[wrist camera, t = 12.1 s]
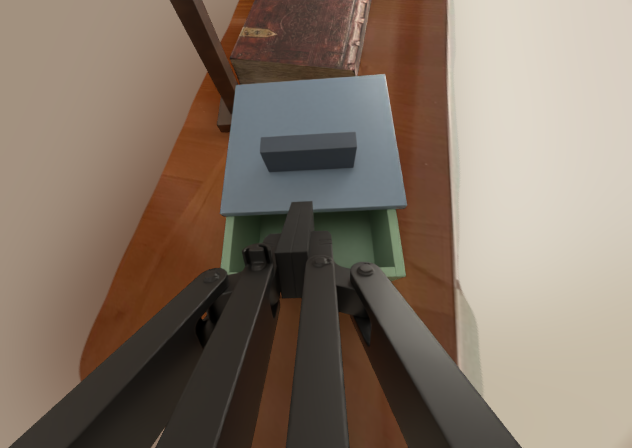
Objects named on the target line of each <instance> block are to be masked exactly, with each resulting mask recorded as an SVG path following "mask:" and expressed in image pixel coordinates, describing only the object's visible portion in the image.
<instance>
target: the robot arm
mask: <svg viewBox="0 0 632 448" xmlns="http://www.w3.org/2000/svg"><path fill="white" fill-rule="evenodd" d="M242 255H243V259H244V263H245V267H244V269H243V271H241V272H238V273H234V274H230V275H228V274H227V271H226V270H225V269H222V268H213V269H209V270H207V271H205V272H203V273H202V274H200V275H199V276H198V277H197V278H196V279H194V280H193V281H192V282H191V283H190V284H189V285H188V286H187V287H186V288H184V289H183V290H182V291H181V292H180V293H179V294H178V295H177V296H176V297H175V298H173V299H172V300H171V301H170V302H169V303H168V304H167V305H166V306H165V307H163V308H162V309H161V310H160V311H159V312H158V313H157V314H156V315H155V316H154V317H152V318H151V319H150V320H149V321H148V322H147V323H146V324H145V325H144V326H142V327H141V328H140V329H139V330H138V331H137V332H136V333H135V334H134V335H132V336H131V337H130V338H129V339H128V340H127V341H126V342H125V343H124V344H123V345H121V346H120V347H119V348H118V349H117V350H116V351H115V352H114V353H113V354H111V355H110V356H109V357H108V358H107V359H106V360H105V361H104V362H103V363H102V364H100V365H99V366H98V367H97V368H96V369H95V370H94V371H93V372H92V373H90V374H89V375H88V376H87V377H86V378H85V379H84V380H83V381H82V382H81V383H80V384H78V385H77V386H76V387H75V388H74V389H73V390H72V391H71V392H69V393H68V394H67V395H66V396H65V397H64V398H63V399H62V400H61V401H60V402H58V403H57V404H56V405H55V406H54V407H53V408H52V409H51V410H50V411H48V412H47V413H46V414H45V415H44V416H43V417H42V418H41V419H40V420H39V421H37V422H36V423H35V424H34V425H33V426H32V427H31V428H30V429H29V430H27V431H26V432H25V433H24V434H23V435H22V436H21V437H20V438H19V439H18V440H16V441H15V442H14V443H13V444H12V445H11V446H10V447H9V448H151V446H152V445H153V444H154V442H155V441H156V439H157V438H158V436H159V435H160V433H161V432H162V431H163V429H164V428H165V429H164V431H163V433H162V435H161V437H160V440H159V441H158V443H157V446H156V447H155V448H251V445H252V440H253V436H254V431H255V426H256V421H257V416H258V412H259V407H260V402H261V397H262V392H263V388H264V383H265V378H266V373H267V368H268V363H269V359H270V354H271V349H272V344H273V339H274V335H275V330H276V325H277V320H278V315H279V311H280V299H279V296H280V292H281V295H282V298H302V302H301V312H300V321H299V330H298V340H297V349H296V358H295V367H294V377H293V386H292V395H291V404H290V414H289V423H288V432H287V441H286V448H350V447H349V435H348V423H347V411H346V399H345V387H344V375H343V362H342V350H341V338H340V326H339V314H338V312H342V313H346V314H350V317H351V320H352V322H353V324H354V327H355V329H356V331H357V333H358V336H359V338H360V340H361V342H362V344H363V347H364V349H365V351H366V353H367V356H368V358H369V360H370V362H371V365H372V367H373V369H374V371H375V374H376V376H377V378H378V380H379V383H380V385H381V387H382V389H383V392H384V394H385V396H386V398H387V400H388V403H389V405H390V407H391V409H392V412H393V414H394V416H395V418H396V421H397V423H398V425H399V427H400V430H401V432H402V434H403V436H404V439H405V441H406V443H407V445H408V447H409V448H522V447H521V446H520V445H519V444H518V442H517V441H516V440H515V439H514V437H513V436H512V435H511V433H510V432H509V431H508V430H507V428H506V427H505V426H504V425H503V423H502V422H501V421H500V420H499V418H498V417H497V416H496V414H495V413H494V412H493V411H492V410H491V408H490V407H489V406H488V404H487V403H486V402H485V401H484V399H483V398H482V397H481V395H480V394H479V393H478V392H477V390H476V389H475V388H474V387H473V385H472V384H471V383H470V382H469V380H468V379H467V378H466V376H465V375H464V374H463V373H462V371H461V370H460V369H459V368H458V366H457V365H456V364H455V363H454V361H453V360H452V359H451V357H450V356H449V355H448V354H447V352H446V351H445V350H444V349H443V347H442V346H441V345H440V344H439V342H438V341H437V340H436V338H435V337H434V336H433V335H432V333H431V332H430V331H429V330H428V328H427V327H426V326H425V324H424V323H423V322H422V321H421V319H420V318H419V317H418V316H417V314H416V313H415V312H414V311H413V309H412V308H411V307H410V305H409V304H408V303H407V302H406V300H405V299H404V298H403V297H402V295H401V294H400V293H399V292H398V290H397V289H396V288H395V286H394V285H393V284H392V283H391V281H390V280H389V279H388V278H387V276H386V275H385V274H384V273H383V271H382V270H381V269H380V268H379V267H378V266H377V265H376V264H373V263H371V262H358V263H355V264H354V265H352V266H351V269H350V268H345V267H342V266H339V265H338V264H336V263H335V261H334V259H333V248H332V236H331V234H330V233H329V232H328V231H315V230H314V216H313V202H312V201H301V202H291V205H290V208H289V211H288V214H287V217H286V220H285V223H284V226H283V229H282V232H281V233H275V234H269V235H268V236H266V237H265V238H264V240H263V243H255V244H252V245H249V246H247V247H245V248H244V249H243V250H242ZM205 312H206V313H207V316H206V317H205V318H204V319H203V320H202V318H201V317H202V315H203V314H204V313H205ZM165 426H166V427H165Z"/></svg>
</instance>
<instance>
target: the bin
mask: <svg viewBox="0 0 632 448" xmlns="http://www.w3.org/2000/svg"><path fill="white" fill-rule="evenodd" d="M313 216H314V230H315V231H328V232H329V233H330V234H331V236H332V248H333V259H334V261H335V263H336V264H338V265H339V266H342V267H345V268H350V269H351V266H352V265H354V264H355V263H358V262H371V263H373V264H376V265H377V266H378V267H379V268H380V269H381V270H382V271H383V273H384V274H385V275H386V276H387V278H388V279H389V280H390V281H394V280H397V279H400V278H402V277H405V276H406V274H405V267H404V260H403V254H402V247H401V241H400V234H399V227H398V221H397V214H396V209H384V210H362V211H339V212H316V213H313ZM286 217H287V214H270V215H248V216H226V225H225V234H224V243H223V252H222V261H221V268H222V269H225V270H226V271H227V274H228V275H230V274H234V273H238V272H241V271H243V269H244V267H245V263H244V259H243V255H242V250H243V249H244V248H245V247H247V246H249V245H252V244H255V243H263V240H264V238H265V237H266V236H268V235H269V234H275V233H281V232H282V229H283V226H284V223H285V220H286Z"/></svg>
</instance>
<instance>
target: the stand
mask: <svg viewBox="0 0 632 448" xmlns="http://www.w3.org/2000/svg"><path fill="white" fill-rule="evenodd" d="M170 1H171V3H172V5H173V7H174V9H175V11H176V13H177V15H178V17H179V18H180V20H181V22H182V24H183V26H184V28H185V30H186V32H187V33H188V35H189V37H190V39H191V41H192V43H193V45H194V47H195V48H196V50H197V52H198V54H199V56H200V58H201V60H202V61H203V63H204V65H205V67H206V69H207V71H208V73H209V75H210V77H211V79H212V80H213V82H214V84H215V86H216V88H217V90H218V92H219V94H220V95H221V101H220V107H219V114H218V121H217V126H218V128H219V129H220V131H221V132H230V128H231V120H232V112H233V104H234V96H235V88H236V85H238V83H237V81H236V79H235V76H234V74H233V72H232V69H231V67H230V65H229V62H228V60H227V58H226V55H225V53H224V50H223V48H222V46H221V43H220V41H219V39H218V37H217V34H216V32H215V29H214V27H213V25H212V22H211V20H210V18H209V15H208V13H207V11H206V8H205V6H204V4H203V1H202V0H170Z"/></svg>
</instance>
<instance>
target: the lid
mask: <svg viewBox="0 0 632 448" xmlns="http://www.w3.org/2000/svg"><path fill="white" fill-rule="evenodd" d="M301 201H312V202H313V213H316V212H339V211H362V210H384V209H404V208H405V207H406V206H407V202H406V196H405V190H404V184H403V178H402V173H401V167H400V161H399V155H398V149H397V143H396V137H395V131H394V125H393V119H392V113H391V107H390V101H389V95H388V89H387V83H386V77H385V74H381V75H367V76H353V77H339V78H326V79H312V80H298V81H284V82H271V83H257V84H243V85H236V88H235V96H234V104H233V112H232V120H231V128H230V137H229V145H228V153H227V161H226V169H225V177H224V185H223V193H222V201H221V209H220V214H221V215H222V216H224V217H225V216H248V215H270V214H288V211H289V208H290V205H291V202H301Z"/></svg>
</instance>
